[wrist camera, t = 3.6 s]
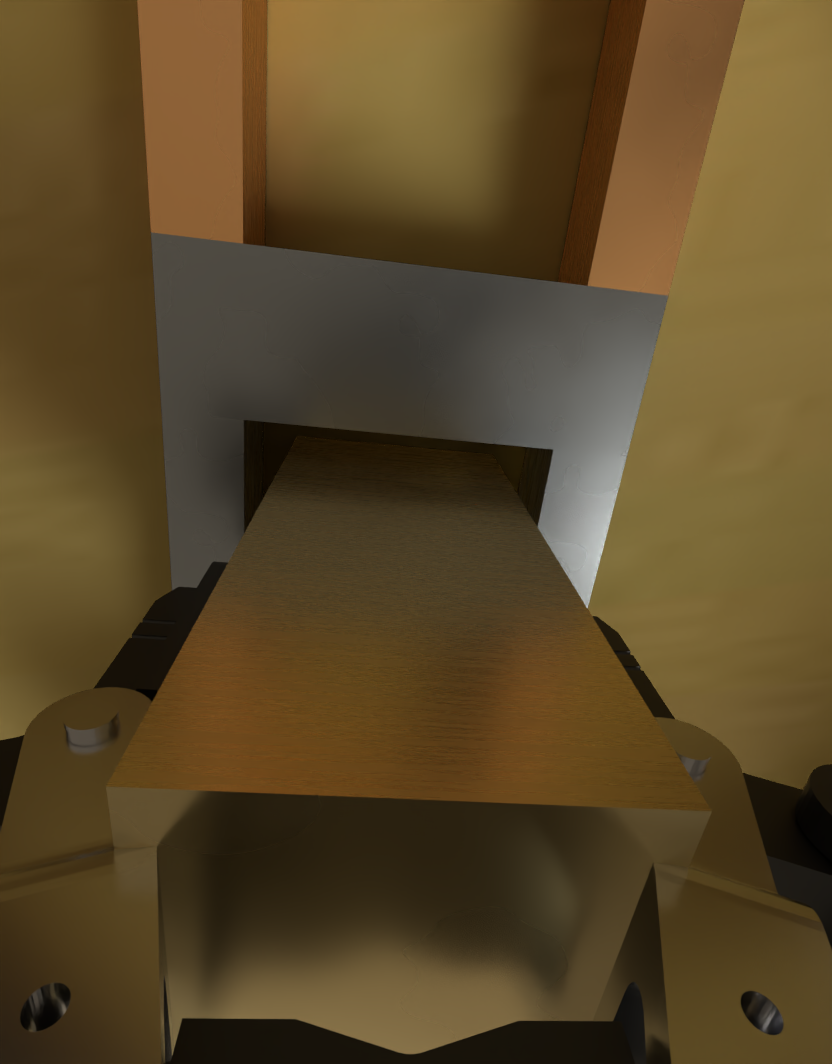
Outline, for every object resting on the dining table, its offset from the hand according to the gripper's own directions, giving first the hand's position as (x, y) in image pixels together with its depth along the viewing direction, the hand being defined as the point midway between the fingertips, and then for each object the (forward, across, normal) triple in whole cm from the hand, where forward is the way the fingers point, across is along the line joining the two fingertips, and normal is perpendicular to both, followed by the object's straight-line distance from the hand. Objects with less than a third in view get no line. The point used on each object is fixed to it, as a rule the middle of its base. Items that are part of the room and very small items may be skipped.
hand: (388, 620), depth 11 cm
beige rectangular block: (+4, 0, 0) cm, 4 cm away
